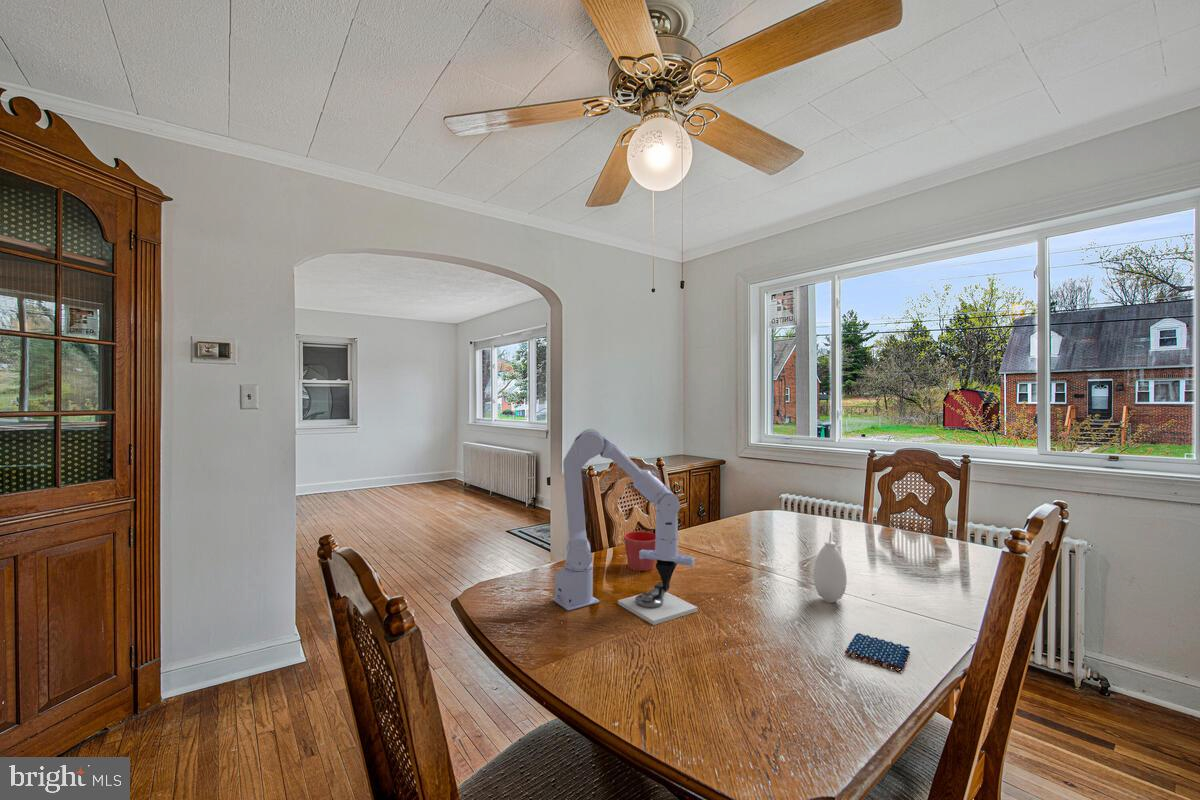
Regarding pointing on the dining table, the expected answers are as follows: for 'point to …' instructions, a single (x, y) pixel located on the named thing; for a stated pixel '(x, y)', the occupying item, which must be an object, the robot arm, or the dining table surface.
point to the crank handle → (651, 597)
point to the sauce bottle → (830, 573)
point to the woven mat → (878, 651)
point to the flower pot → (637, 543)
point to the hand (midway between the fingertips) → (666, 589)
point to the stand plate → (659, 608)
